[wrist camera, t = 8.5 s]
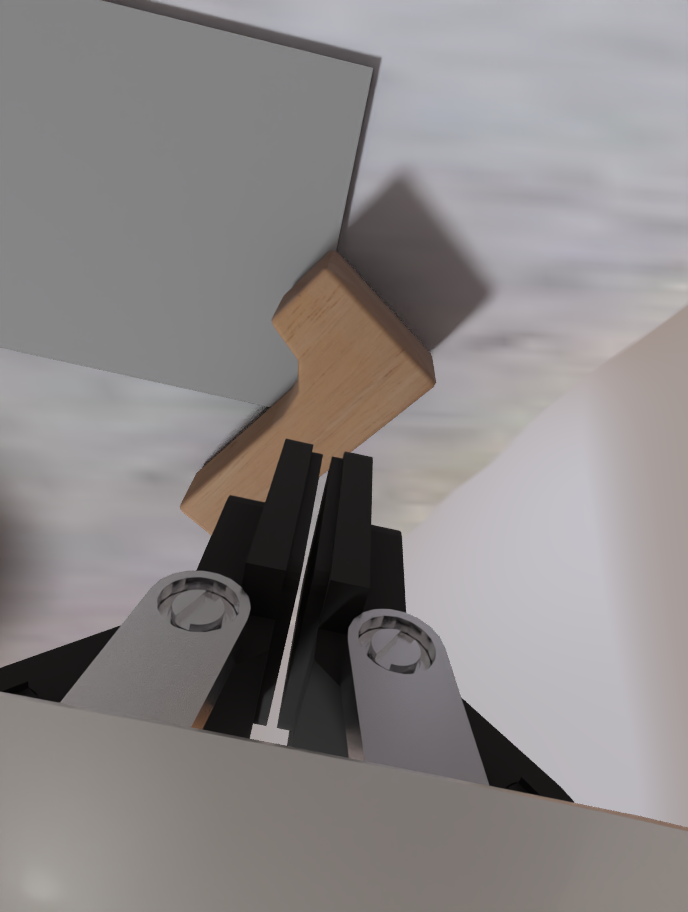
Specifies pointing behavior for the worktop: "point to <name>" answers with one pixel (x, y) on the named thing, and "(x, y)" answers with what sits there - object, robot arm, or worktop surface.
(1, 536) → the worktop surface
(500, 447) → the worktop surface
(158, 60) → the mat
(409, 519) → the worktop surface
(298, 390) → the wooden block
